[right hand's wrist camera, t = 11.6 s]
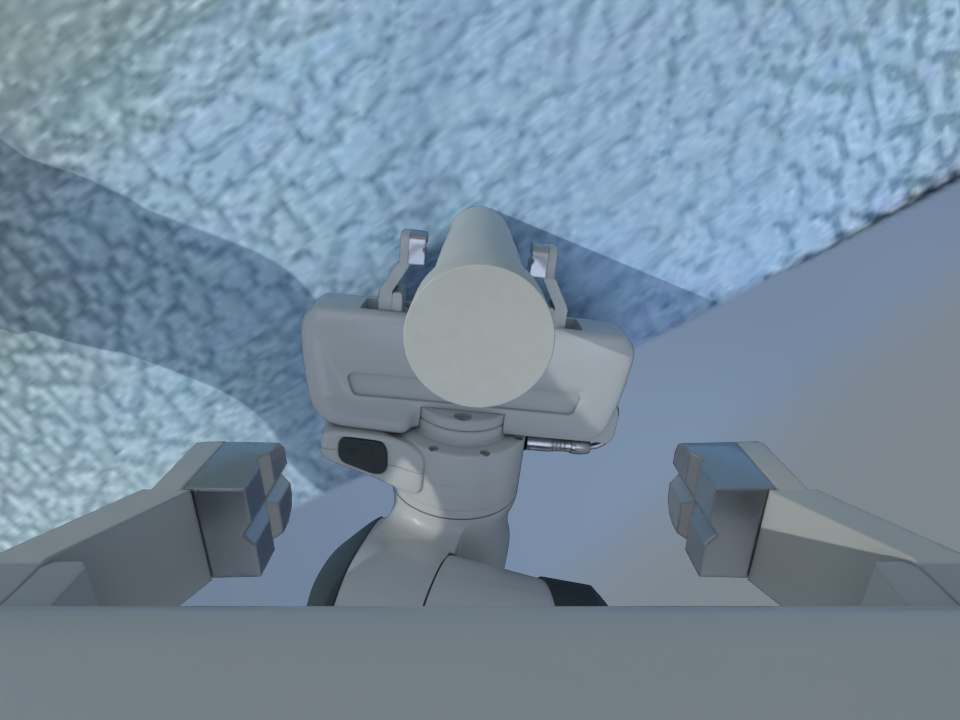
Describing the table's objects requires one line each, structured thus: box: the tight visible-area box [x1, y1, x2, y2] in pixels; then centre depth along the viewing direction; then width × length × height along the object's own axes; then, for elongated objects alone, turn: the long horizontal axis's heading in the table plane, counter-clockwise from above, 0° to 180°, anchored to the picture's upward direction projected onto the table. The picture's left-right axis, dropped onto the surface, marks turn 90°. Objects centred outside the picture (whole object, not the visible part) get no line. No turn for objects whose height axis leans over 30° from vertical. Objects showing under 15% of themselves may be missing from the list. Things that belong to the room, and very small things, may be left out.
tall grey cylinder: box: [435, 207, 523, 267], centre depth 27 cm, size 4×4×20 cm
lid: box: [403, 252, 555, 408], centre depth 19 cm, size 5×5×2 cm
